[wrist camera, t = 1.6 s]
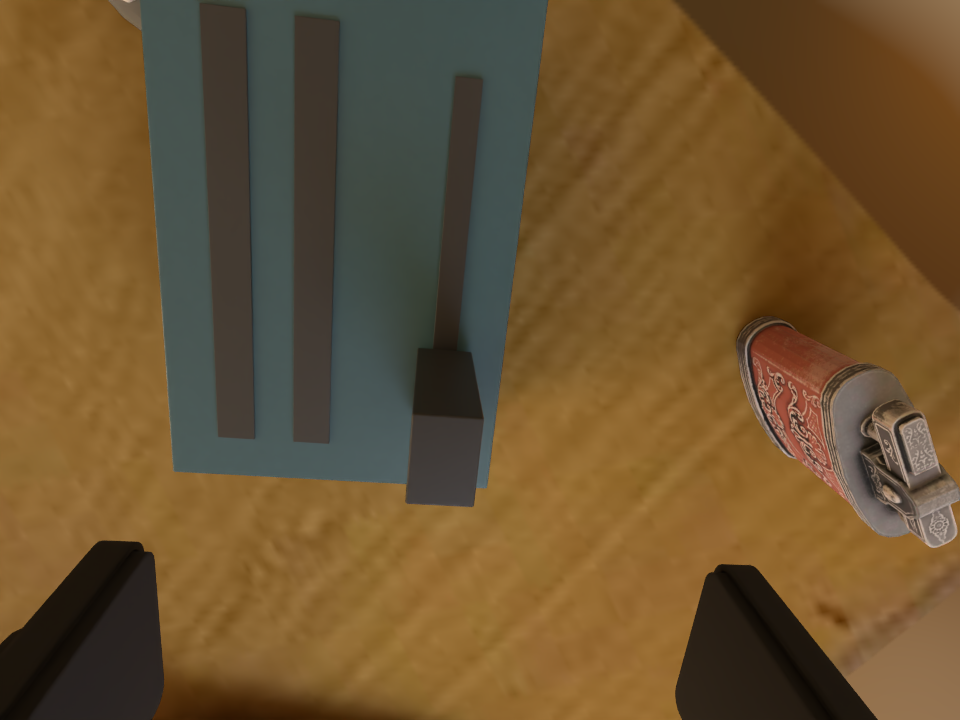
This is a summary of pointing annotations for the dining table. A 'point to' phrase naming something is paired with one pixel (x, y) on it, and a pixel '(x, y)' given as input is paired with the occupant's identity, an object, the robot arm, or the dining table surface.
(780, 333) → the lighter
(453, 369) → the slider
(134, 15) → the key chain
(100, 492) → the dining table surface
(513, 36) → the toaster
